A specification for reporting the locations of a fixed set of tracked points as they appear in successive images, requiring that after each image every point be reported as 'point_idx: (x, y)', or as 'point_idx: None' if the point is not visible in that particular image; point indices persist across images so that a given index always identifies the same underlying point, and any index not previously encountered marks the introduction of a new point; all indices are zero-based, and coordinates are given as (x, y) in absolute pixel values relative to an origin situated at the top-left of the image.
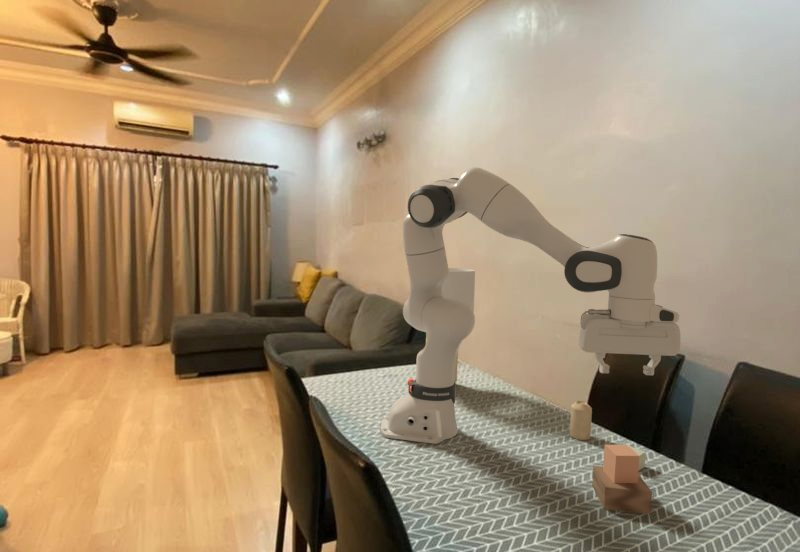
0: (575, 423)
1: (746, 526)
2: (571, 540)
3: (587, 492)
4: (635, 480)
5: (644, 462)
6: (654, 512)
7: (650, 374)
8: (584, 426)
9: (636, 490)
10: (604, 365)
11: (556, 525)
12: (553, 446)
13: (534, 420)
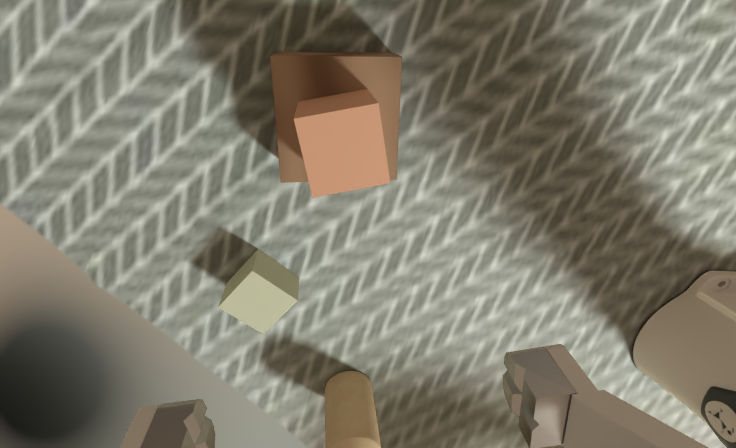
0: (368, 405)
1: (30, 39)
2: None
3: (409, 126)
4: (305, 101)
5: (226, 287)
6: (263, 61)
7: (167, 403)
8: (347, 399)
9: (314, 57)
10: (583, 394)
11: None
12: (427, 326)
13: (436, 431)
